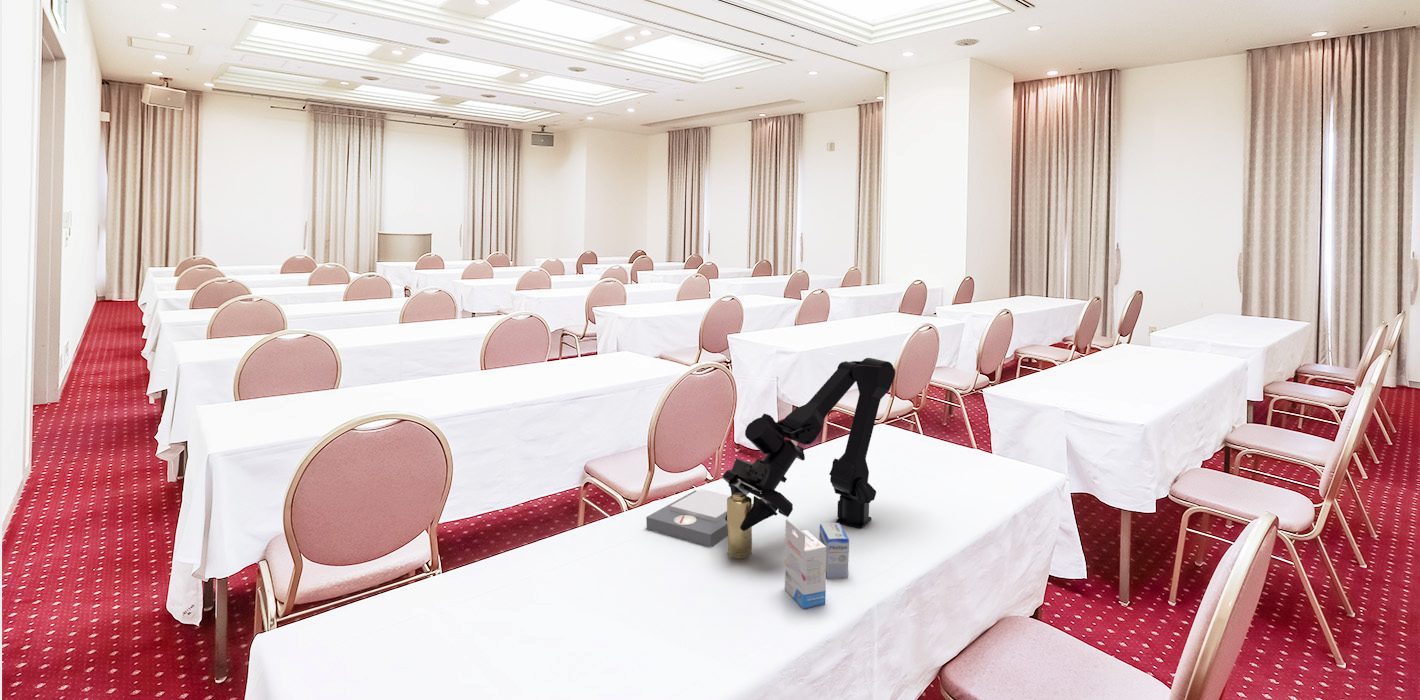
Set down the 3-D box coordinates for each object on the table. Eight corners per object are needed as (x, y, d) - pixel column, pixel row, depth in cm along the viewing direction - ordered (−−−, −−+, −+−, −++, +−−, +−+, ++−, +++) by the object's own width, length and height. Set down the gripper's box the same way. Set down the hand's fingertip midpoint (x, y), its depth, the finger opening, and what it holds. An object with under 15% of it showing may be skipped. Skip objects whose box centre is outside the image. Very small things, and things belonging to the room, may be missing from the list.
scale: (756, 516, 181) (756, 500, 180) (710, 547, 165) (710, 529, 164) (695, 501, 191) (695, 485, 190) (646, 529, 175) (646, 512, 174)
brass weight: (756, 550, 160) (756, 493, 158) (743, 560, 156) (743, 501, 153) (735, 545, 163) (735, 488, 161) (722, 554, 159) (722, 496, 156)
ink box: (827, 604, 140) (828, 531, 138) (803, 609, 139) (804, 535, 136) (806, 584, 148) (807, 514, 146) (783, 588, 147) (784, 517, 144)
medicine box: (818, 561, 158) (818, 522, 156) (838, 560, 158) (839, 522, 157) (826, 579, 150) (827, 539, 148) (848, 578, 150) (849, 538, 149)
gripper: (728, 434, 165) (687, 492, 161) (781, 456, 149) (737, 521, 146) (757, 461, 171) (718, 517, 167) (811, 485, 155) (769, 548, 151)
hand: (734, 525), depth 157 cm, fingers closed on brass weight, 5 cm apart
